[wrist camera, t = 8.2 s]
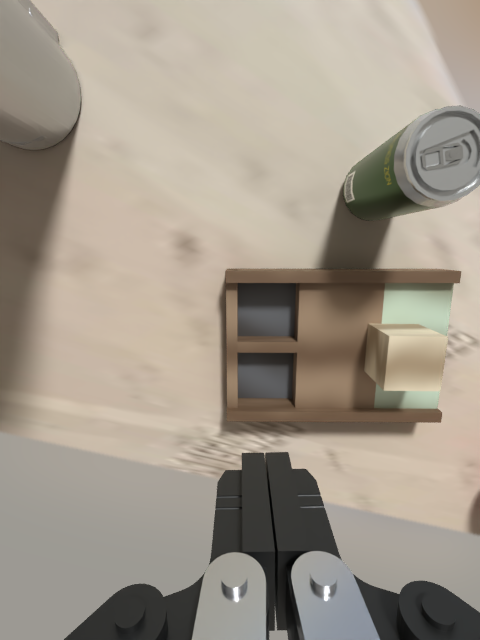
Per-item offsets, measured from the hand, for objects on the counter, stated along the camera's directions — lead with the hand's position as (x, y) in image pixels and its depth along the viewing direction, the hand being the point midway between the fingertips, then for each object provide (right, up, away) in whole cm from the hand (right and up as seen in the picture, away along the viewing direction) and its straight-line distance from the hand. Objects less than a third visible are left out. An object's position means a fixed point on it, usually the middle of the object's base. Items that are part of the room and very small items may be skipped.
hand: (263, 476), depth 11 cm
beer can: (+11, +17, +20) cm, 28 cm away
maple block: (+13, +2, +20) cm, 24 cm away
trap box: (+8, +3, +22) cm, 24 cm away
